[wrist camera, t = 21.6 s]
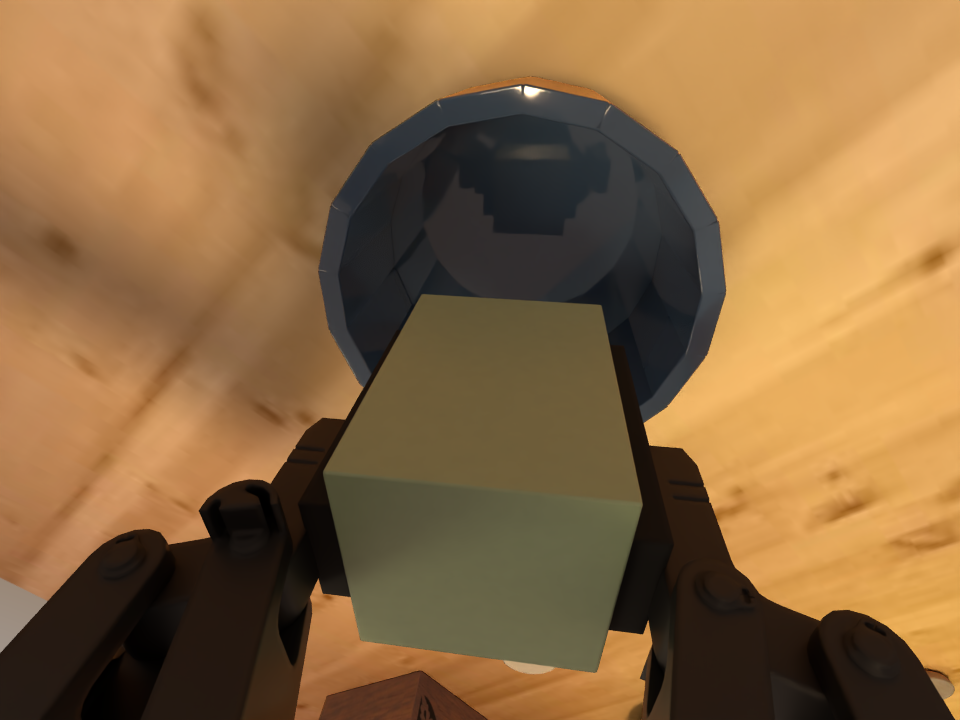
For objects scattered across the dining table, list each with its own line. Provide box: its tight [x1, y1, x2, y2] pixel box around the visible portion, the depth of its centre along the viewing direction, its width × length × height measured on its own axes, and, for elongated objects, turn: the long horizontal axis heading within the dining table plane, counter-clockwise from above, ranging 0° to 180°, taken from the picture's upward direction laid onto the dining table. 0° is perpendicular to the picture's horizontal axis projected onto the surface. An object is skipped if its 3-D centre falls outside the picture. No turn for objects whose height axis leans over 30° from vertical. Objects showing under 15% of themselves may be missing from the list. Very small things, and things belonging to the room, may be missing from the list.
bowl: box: [318, 76, 726, 423], centre depth 21 cm, size 15×15×8 cm
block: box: [323, 294, 643, 673], centre depth 12 cm, size 5×5×7 cm
